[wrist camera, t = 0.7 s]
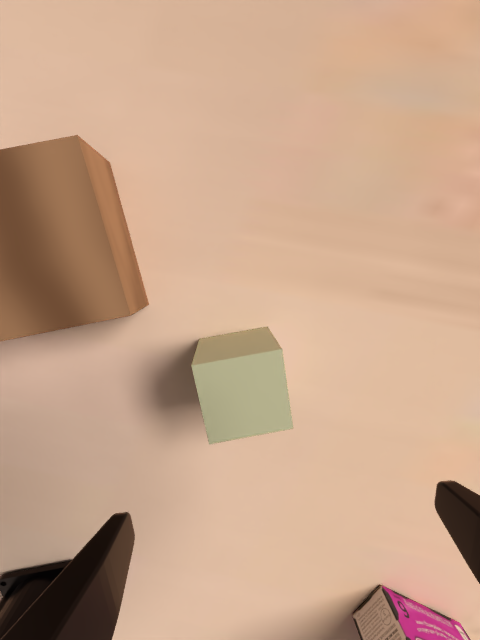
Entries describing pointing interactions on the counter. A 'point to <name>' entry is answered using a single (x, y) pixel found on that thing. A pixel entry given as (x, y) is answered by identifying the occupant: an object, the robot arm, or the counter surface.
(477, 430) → the counter surface
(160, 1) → the counter surface
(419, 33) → the counter surface
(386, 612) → the candy bar box
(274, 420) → the green cube
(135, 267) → the walnut block
